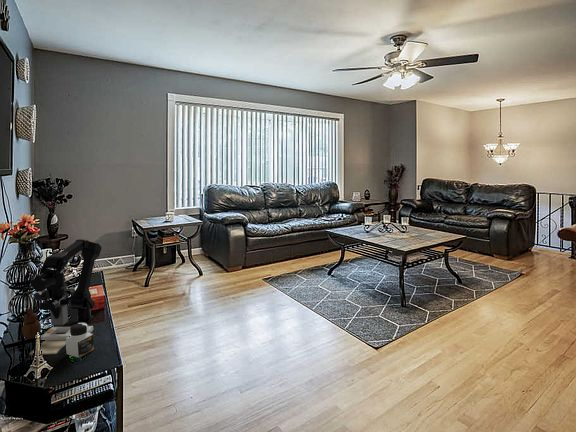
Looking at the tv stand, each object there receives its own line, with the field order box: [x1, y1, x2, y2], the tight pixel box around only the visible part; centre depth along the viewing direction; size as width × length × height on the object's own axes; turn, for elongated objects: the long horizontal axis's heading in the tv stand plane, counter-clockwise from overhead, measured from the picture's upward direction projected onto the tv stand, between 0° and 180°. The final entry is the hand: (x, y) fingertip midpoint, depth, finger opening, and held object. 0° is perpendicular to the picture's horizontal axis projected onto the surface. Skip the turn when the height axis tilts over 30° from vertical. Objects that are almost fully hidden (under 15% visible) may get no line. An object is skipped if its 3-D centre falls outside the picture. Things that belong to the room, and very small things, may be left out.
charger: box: [50, 302, 69, 326], centre depth 153 cm, size 4×5×10 cm
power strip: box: [40, 325, 94, 341], centre depth 155 cm, size 9×18×3 cm, turn 97°
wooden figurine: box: [21, 306, 42, 340], centre depth 151 cm, size 7×6×15 cm
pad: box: [29, 340, 66, 356], centre depth 144 cm, size 10×10×1 cm
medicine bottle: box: [65, 322, 95, 359], centre depth 141 cm, size 7×7×12 cm
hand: (59, 316), depth 154 cm, fingers closed on charger, 4 cm apart
